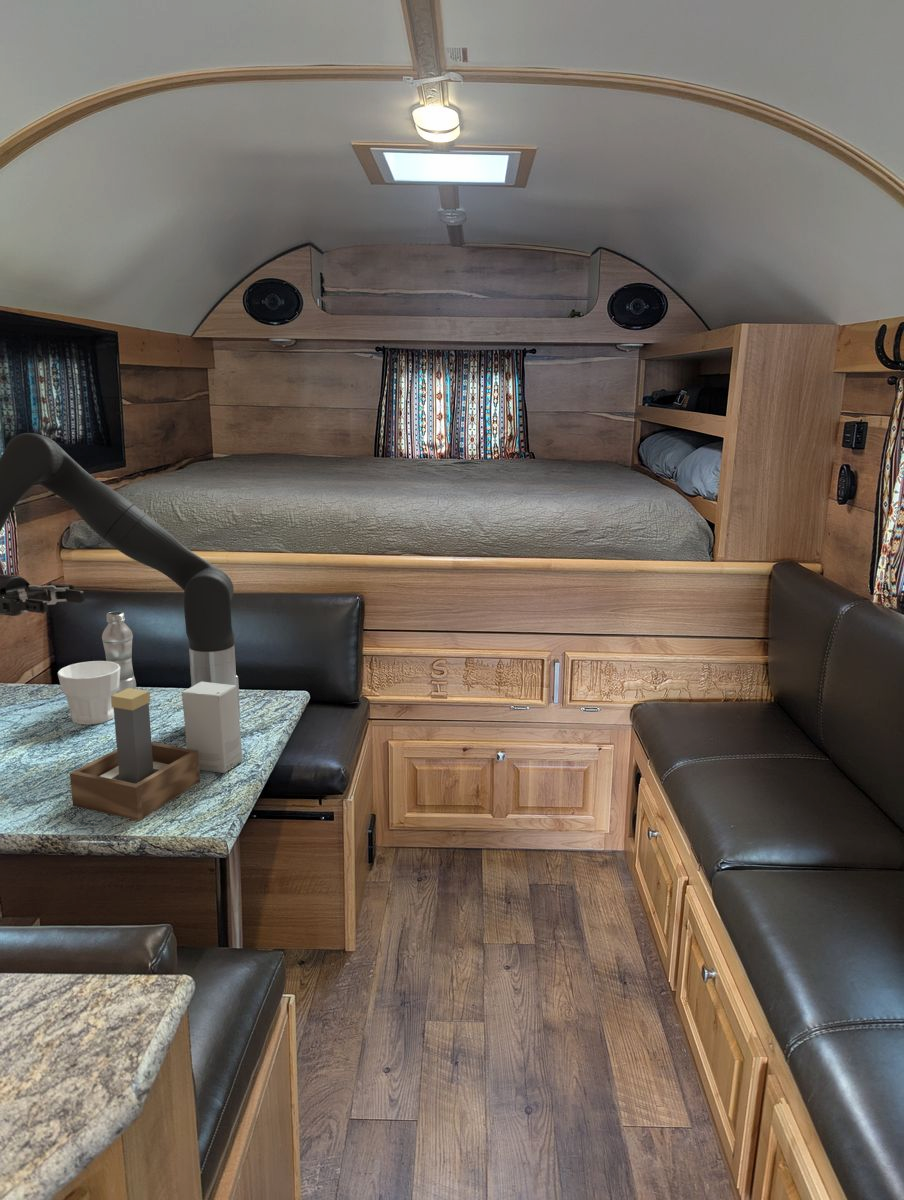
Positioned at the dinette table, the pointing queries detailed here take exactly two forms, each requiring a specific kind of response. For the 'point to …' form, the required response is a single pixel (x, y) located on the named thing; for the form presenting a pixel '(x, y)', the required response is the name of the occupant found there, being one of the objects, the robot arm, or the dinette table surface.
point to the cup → (90, 690)
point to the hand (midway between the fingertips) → (64, 601)
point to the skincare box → (213, 725)
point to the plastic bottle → (119, 648)
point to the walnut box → (109, 795)
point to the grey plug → (133, 734)
